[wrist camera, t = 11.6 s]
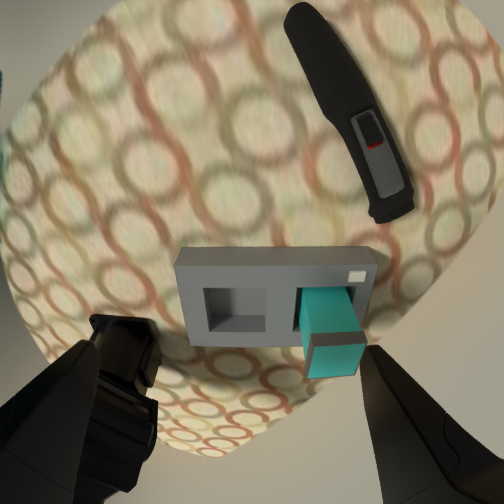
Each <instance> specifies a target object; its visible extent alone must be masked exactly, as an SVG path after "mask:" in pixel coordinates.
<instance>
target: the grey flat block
mask: <svg viewBox="0 0 504 504" xmlns="http://www.w3.org/2000/svg"><path fill="white" fill-rule="evenodd" d="M377 268H378V263H377V261H376V259H375V258H374V256H373V255H372V253H371V251H370V250H369V248H368V247H182V248H181V250H180V252H179V255H178V257H177V260H176V262H175V265H174V269H175V275H176V280H177V285H178V291H179V296H180V301H181V306H182V310H183V315H184V320H185V325H186V329H187V334H188V338H189V342H190V346H205V347H298V346H303V343H302V336H301V330H300V323H299V317H298V311H297V306H298V297H299V288H300V287H338V286H345V288H346V291H347V293H348V296H349V299H350V301H351V304H352V307H353V309H354V312H355V315H356V317H357V320H358V323H359V326H360V328H361V326H362V323H363V320H364V316H365V313H366V310H367V306H368V303H369V299H370V295H371V292H372V288H373V284H374V280H375V277H376V273H377Z"/></svg>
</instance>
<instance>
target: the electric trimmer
mask: <svg viewBox="0 0 504 504" xmlns="http://www.w3.org/2000/svg"><path fill="white" fill-rule="evenodd" d="M284 29H285V32H286V34H287V36H288V39H289V41H290V43H291V45H292V47H293V49H294V51H295V53H296V55H297V57H298V59H299V62H300V64H301V66H302V68H303V70H304V72H305V74H306V77H307V79H308V81H309V83H310V86H311V88H312V90H313V93H314V95H315V97H316V99H317V101H318V104H319V106H320V108H321V110H322V112H323V114H324V116H325V117H326V118H327V119H328V120H329V121H330V122H331V123H332V124H333V125H334V126H335V127H336V129H337V130H338V132H339V133H340V135H341V136H342V138H343V139H344V142H345V144H346V146H347V148H348V150H349V152H350V154H351V157H352V159H353V161H354V163H355V166H356V168H357V170H358V173H359V175H360V177H361V180H362V182H363V185H364V188H365V190H366V193H367V196H368V199H369V203H370V206H369V211H368V213H369V216H371V217H373V218H374V220H375V223H376V224H382V223H387V222H390V221H392V220H394V219H397V218H399V217H401V216H403V215H404V214H406V213H408V212H409V211H411V210H412V209H414V202H413V194H414V190H413V187H412V185H411V182H410V179H409V176H408V173H407V171H406V168H405V165H404V163H403V161H402V158H401V156H400V153H399V151H398V149H397V147H396V144H395V142H394V140H393V138H392V135H391V133H390V131H389V129H388V127H387V125H386V123H385V121H384V118H383V116H382V114H381V112H380V110H379V108H378V105H377V103H376V100H375V98H374V95H373V93H372V91H371V89H370V87H369V85H368V83H367V82H366V80H365V78H364V76H363V75H362V73H361V71H360V70H359V68H358V67H357V65H356V63H355V62H354V60H353V59H352V57H351V56H350V54H349V53H348V51H347V50H346V48H345V47H344V45H343V44H342V42H341V41H340V39H339V38H338V37H337V35H336V34H335V32H334V31H333V30H332V28H331V27H330V25H329V24H328V23H327V21H326V20H325V19H324V18H323V16H322V15H321V14H320V13H319V12H318V11H317V10H316V9H315V8H314V7H313V6H312V5H310V4H309V3H307V2H300V3H297V4H295V5H294V6H293V7H291V8H290V10H289V12H288V13H287V16H286V18H285V21H284Z"/></svg>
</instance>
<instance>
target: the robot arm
mask: <svg viewBox="0 0 504 504" xmlns="http://www.w3.org/2000/svg"><path fill="white" fill-rule="evenodd" d="M89 321H90V323H91V326H92V328H93V330H94V331H93V333H92V335H91V337H90V339H89V340H84V339H82V340H80V341H79V342H77V343H76V344H75V345H74V346H72V347H71V348H70V349H69V350H68V351H66V352H65V353H64V354H63V355H62V356H60V357H59V358H58V359H57V360H55V361H54V362H53V363H52V364H51V365H49V366H48V367H47V368H46V369H45V370H44V371H42V372H41V373H40V374H39V375H38V376H36V377H35V378H34V379H33V380H32V381H30V383H28V384H27V385H26V386H25V387H23V388H22V389H21V390H20V391H19V392H18V393H17V394H15V396H13V397H12V398H11V399H10V400H8V401H7V402H6V403H5V404H4V405H2V406H1V407H0V504H104V501H105V500H106V499H107V498H109V497H110V496H112V495H114V494H116V493H117V492H118V491H122V492H126V493H128V492H129V491H131V490H132V489H133V488H134V487H135V486H136V484H137V481H138V477H139V473H140V470H141V466H142V464H143V462H145V461H146V460H147V459H148V458H149V456H150V455H151V453H152V451H153V449H154V446H155V443H156V439H157V420H158V401H157V400H155V399H150V398H148V397H146V392H147V389H148V388H152V387H153V385H154V382H155V378H156V374H157V371H158V367H159V366H160V365H161V363H162V359H161V356H162V355H161V352H160V349H159V346H158V343H157V340H156V339H155V338H154V336H153V333H152V330H151V327H150V323H149V321H148V320H146V319H143V318H129V317H115V316H104V315H91V316H90V318H89ZM360 375H361V382H362V390H363V398H364V407H365V412H366V417H367V421H368V426H369V430H370V435H371V439H372V444H373V449H374V454H375V459H376V464H377V469H378V474H379V480H380V486H381V492H382V498H383V504H504V459H501V458H499V457H497V456H496V455H495V454H493V453H492V452H491V451H490V450H489V449H487V448H486V447H485V446H484V445H482V444H481V443H480V442H479V441H477V440H476V439H475V438H473V436H471V435H470V434H469V433H468V432H467V431H466V430H464V429H463V428H462V427H461V426H460V425H459V424H458V423H457V422H456V421H455V420H454V419H453V418H452V417H451V416H450V415H449V414H448V413H446V411H445V410H444V409H443V408H442V407H441V406H440V405H439V404H438V403H437V402H436V401H435V400H434V399H433V398H432V397H431V396H430V395H429V394H428V393H427V392H426V391H425V390H424V389H423V388H422V387H421V386H420V385H419V384H418V383H417V382H416V381H415V380H414V379H413V378H412V377H411V376H410V375H409V374H408V373H407V372H406V371H405V370H404V369H403V368H402V367H401V366H400V365H399V364H398V363H397V362H396V361H395V360H394V359H393V358H392V357H391V356H390V355H389V354H388V353H387V352H386V351H385V350H383V348H382V347H380V346H379V345H368V346H366V347H365V349H364V352H363V355H362V358H361V360H360Z"/></svg>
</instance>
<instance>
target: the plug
mask: <svg viewBox="0 0 504 504" xmlns="http://www.w3.org/2000/svg"><path fill="white" fill-rule="evenodd" d="M297 311H298V317H299V323H300V330H301V336H302V343H303V349H304V356H305V367H304V368H305V376H306V379H316V378H330V377H342V376H352V375H355V374H356V371H357V369H358V366H359V364H360V360H361V358H362V355H363V352H364V349H365V347H366V345H367V343H368V342H367V339H366V336H365V333H364V331H361V328H360V326H359V323H358V320H357V317H356V315H355V312H354V309H353V307H352V304H351V301H350V299H349V296H348V293H347V291H346V288H345V286H338V287H300V288H299V297H298V306H297Z"/></svg>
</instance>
